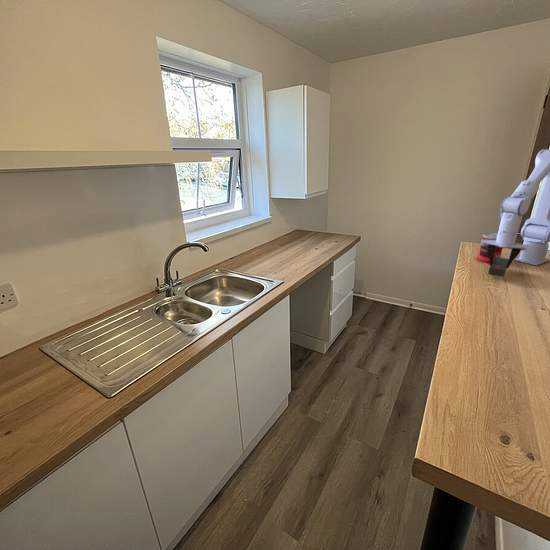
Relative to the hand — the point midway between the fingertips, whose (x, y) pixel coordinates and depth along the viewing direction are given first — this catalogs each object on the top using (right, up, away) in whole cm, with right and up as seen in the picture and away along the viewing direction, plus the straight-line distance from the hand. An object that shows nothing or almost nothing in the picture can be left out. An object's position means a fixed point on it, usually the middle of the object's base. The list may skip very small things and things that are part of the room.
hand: (499, 266), depth 114 cm
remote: (0, -1, 0) cm, 1 cm away
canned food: (+7, +3, +15) cm, 17 cm away
